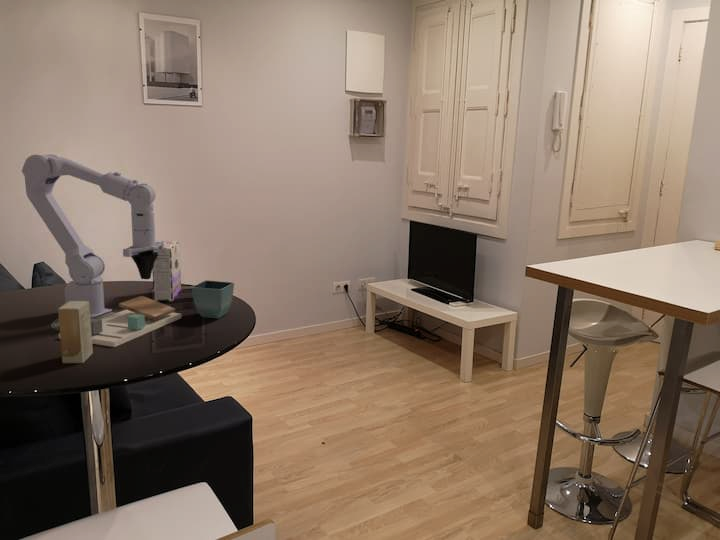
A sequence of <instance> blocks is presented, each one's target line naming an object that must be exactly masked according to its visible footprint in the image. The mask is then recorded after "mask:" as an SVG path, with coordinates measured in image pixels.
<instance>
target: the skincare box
mask: <svg viewBox="0 0 720 540" xmlns="http://www.w3.org/2000/svg"><path fill="white" fill-rule="evenodd" d="M57 312H58V324H59V334H60V338H61V339H60V348H61V358H62V359H61V360H62V364H84V363H85V362H86V360H88V358H90V357H91V356H92V354H94V352H93V344H92V336H91V322H90V319H91V318H90V309H89V301H69V302H67V303H66V304H65V303H64V304H63V305H61V306H60V307H59V308H57Z"/></svg>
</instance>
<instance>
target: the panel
mask: <svg viewBox="0 0 720 540" xmlns="http://www.w3.org/2000/svg"><path fill="white" fill-rule="evenodd" d="M133 314H137V313H134V312H132V311H129V310H127V309H123V310H121V311H118V312H116V313H113V314H110V315H107V316H104V317H102V318H100V319H102V330H103V331H102V332H100V333H97V334H95V335H92V334H91V336H92V345H99V346H106V347H112V348H115V347H118V346H120V345H123V344H126V342H127V343H128V342H130V341H132V340H134V339H136V338H139V337H141V336H143V335H145V334H148V333H150V332H152V331H154V330H157V329H160V328H161V327H164V326H166V325H168V324H171V323H173V322H175V321H178V320H180V319H182V313H181V312H180V313H178V312H173V313H170V314H168V315H165V316H163V317H160V318H158V319H156V320H152V319H150V318H147V317H145V327H143V328H141V329H138V330H135V329H128V319H127V317H128V316H131V315H133ZM58 339H59V340H61V338H60V333H58Z"/></svg>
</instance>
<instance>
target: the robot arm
mask: <svg viewBox="0 0 720 540" xmlns="http://www.w3.org/2000/svg"><path fill="white" fill-rule="evenodd" d="M21 172H22V175H23V176H24V183H25V184H24V185H25V194H26V196H27V199H28V200H29V201H30V203H31V204H32V206H33V207H34V209H35V210H36V212H37V214H38V215H39V217H40V218H41V220H42V221H43V222H44V224H45V226H46V228H47V229H48V230H49V232H50V233H51V235H52V236H53V238H54V239H55V241H56V242H57V243H58V246H59V247H60V248H61V249H62V251H63V253H64V255H65V260H64V261H65V262H64V263H65V264H66V266H67V268H68V275H69V277H70V278H71V281H69V282H68V283H67V284H66V286H65V288H64V300H65V301H64V304H66V303H67V302H69V301H89V309H90V319H91V318H96V317H99V316H101V315H104V314H108V313H110V312H112V310H113V309H112V308H105V295H104V282H103V281H104V280H103V279H104V278H102V275H103V273H104V272H105V268H106V264H105V262H104V260H103V259H102V258H101V257H100V256H98V255H97V254H96V253H94V251H93V249H91V248H90V247H89V246H87V244H85V243H84V242H83V240H82V239H81V237H80V235H79V234H78V232H77V231H76V230H75V228H74V226H73V225H72V223H71V222H70V221H69V218H68V217H67V216H66V214H65V212H64V211H63V209H62V208H61V206H60V205H59V203H58V201H56V199H55V197H54V196H53V189H54V186H55V184H56V182H57V181H58V180H59V178H60V177H61V176H63V177H64V176H69V177H73V178H76V179H80V180H82V181H85V182H87V183H90V184H94V185H96V186H98V187H99V188H100V189H101V191H102V193H104V194H107V195H109V196H112V197H115V198H116V199H120V200H122V201H125V202H128V203H129V204H130V209H131V210H130V211H131V213H130V215H131V216H130V217H131V231H132V232H131V233H132V235H131V236H132V238H131V239H132V245H131V246H128V247H127V248H122V256H123V257H124V258H125V257H126V258H131V259H132V261H133V262H134V264H135V265H136V267H137V269H138V270H137V271H138V273H139V276H140V279H141V280H150V279H152V278H151V277H152V274H153V271H152V269H153V265H154V262H155V260H156V258H157V257H158V253H157V252H153V251H154V250H159V249H164V242H161V241H156V236H155V235H156V232H155V231H156V230H155V228H156V226H155V212H154V203H153V202H154V201H155V198H156V192H155V190H154V189H153V187H152V186H150V185H149V184H148V183H140V184H139V180H137V179H133V180H132V179H130V178H127V177H124V176H121V175H122V174H121V173H120V172H118V171H115V172H112V171H111V172H108V173H105V174H104V173H101V172H99V171H98V170H97V171H96V170H94V169H93V168H89V167H88V166H84V164H83V165H82V164H81V163H78V162H75V161H73V160H70V158H69V159H68V158H65V157H62V156H58V155H56V154H46V155H45V154H43V155H42V154H31V155H30V156H28V157H27V158H26V159H25V162H24V164H23V166H22V169H21Z"/></svg>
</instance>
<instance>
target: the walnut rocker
mask: <svg viewBox="0 0 720 540" xmlns="http://www.w3.org/2000/svg"><path fill="white" fill-rule="evenodd" d="M118 307H119V308H122V309H123V310H126V309H127V310H129V311H132V312H134V313H137V314H140V315H145V317H147V318H150V319H152V320H156V319H158V318H160V317H163V316H165V315H168V314H170V313H176V308H174V307H172V306H170V305H167V304H165V303H162V302H161V301H154V299H151V298H149V297H146V296H144V295H139V296H137V297H133V298H130V299H128V300H125V301H121V302H119V303H118Z"/></svg>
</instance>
